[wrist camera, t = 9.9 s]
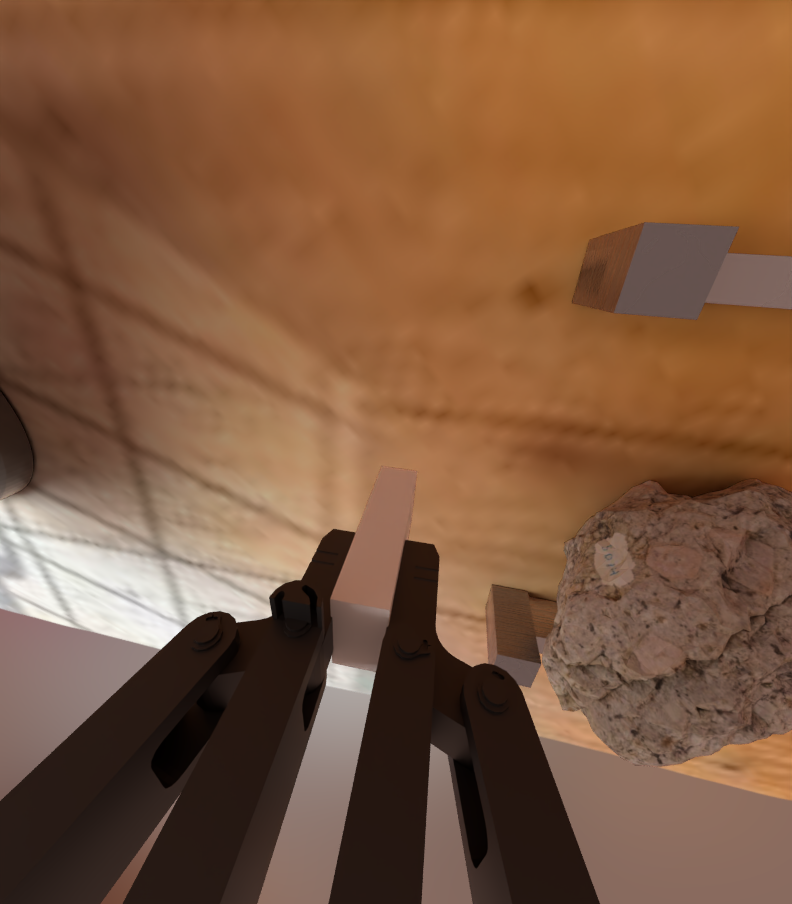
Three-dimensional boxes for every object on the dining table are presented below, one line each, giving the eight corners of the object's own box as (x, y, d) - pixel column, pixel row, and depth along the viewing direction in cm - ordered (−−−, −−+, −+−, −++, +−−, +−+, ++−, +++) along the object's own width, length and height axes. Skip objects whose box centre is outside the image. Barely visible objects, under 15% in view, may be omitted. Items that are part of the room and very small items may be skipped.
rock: (876, 417, 10) (1145, 647, 9) (681, 422, 20) (794, 530, 19) (500, 663, 13) (658, 851, 12) (496, 562, 23) (583, 659, 22)
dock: (485, 607, 25) (489, 678, 20) (589, 239, 14) (644, 222, 10) (797, 670, 22) (879, 768, 18) (1225, 274, 11) (1706, 272, 7)
